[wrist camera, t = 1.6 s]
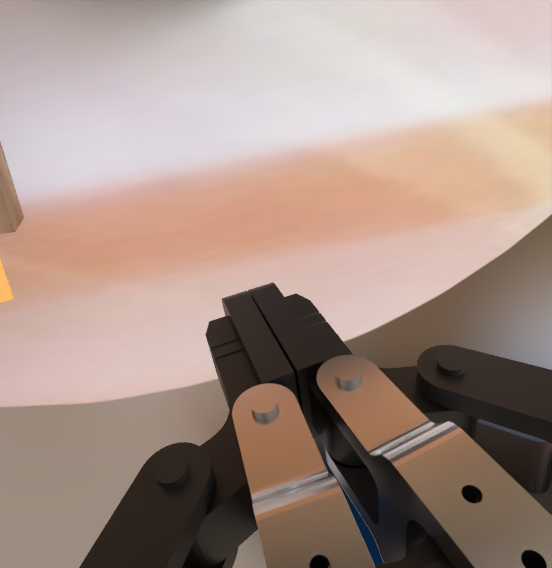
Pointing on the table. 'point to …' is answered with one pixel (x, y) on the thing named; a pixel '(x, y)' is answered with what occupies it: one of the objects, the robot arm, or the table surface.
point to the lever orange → (4, 286)
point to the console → (8, 199)
